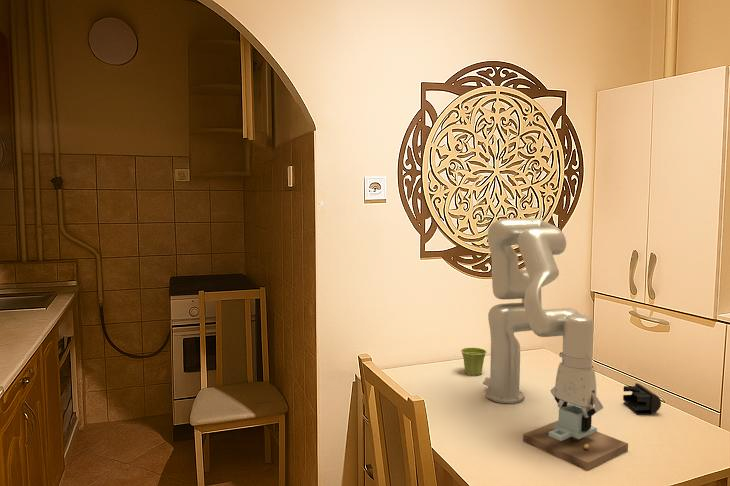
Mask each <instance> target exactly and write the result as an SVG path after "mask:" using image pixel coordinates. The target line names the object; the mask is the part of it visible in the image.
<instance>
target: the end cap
mask: <svg viewBox="0 0 730 486" xmlns="http://www.w3.org/2000/svg"><path fill="white" fill-rule="evenodd" d="M623 392H631V394H622V395H623V397H622V398H623V399H622V400H623V406H625V407H627V408H628V409H629V410H630V411H631V412H632V413H634V414H635V415H636V416H650V415H653V414H655V413H657V412H658V411H659V410H660V409H661V406H662V401H661V399H660V397H659V396H658V395H656V393H654V392H652V391H651V390H649V389H648V388H646V387H645V386H643V385H641V384H640V383H636V382H635V383H634V385H632V386H631V385H630V386H629V385H628V386H627V385H626V386H625V385H624V386H623Z"/></svg>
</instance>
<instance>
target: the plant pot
mask: <svg viewBox="0 0 730 486" xmlns="http://www.w3.org/2000/svg"><path fill="white" fill-rule="evenodd" d="M460 351H461V354H462V357H463V364H464V365H463V366H464V372H466V373H467V375H469V374H470V375H469V376H475V375H476V376H479V375H480V374H481V375H482V373H483V366H484V361H485V357H486V354H487V350H486V349H484V348H480V347H464V348H462V349H460ZM466 373H465V374H466Z"/></svg>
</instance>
